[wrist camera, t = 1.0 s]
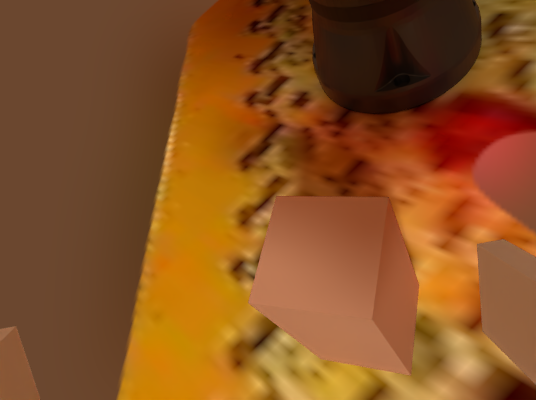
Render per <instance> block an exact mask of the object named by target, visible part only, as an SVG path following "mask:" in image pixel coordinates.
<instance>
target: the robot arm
mask: <svg viewBox="0 0 536 400" xmlns="http://www.w3.org/2000/svg"><path fill="white" fill-rule="evenodd" d="M309 2H310V4H311V7H312V20H313V33H314V45H313V64H314V69H315V72H316V74H317V77H318V79H319V82H320V84H321V86H322V88H323V90H324V92H325V93H326V94H327V96H328V97H329V98H330V99H332V100H333V101H334V102H336V103H337V104H339V105H341V106H343V107H345V108H348V109H350V110H354V111H358V112H364V113H389V112H396V111H401V110H406V109H409V108H413V107H416V106H419V105H421V104H424V103H426V102H428V101H431V100H433V99H434V98H436V97H438V96H440V95H442V94H443V93H445V92H446V91H448V90H449V89H450V88H452V87H453V86H454V85H456V84H457V83H458V82H459V81H460V80H461V79H462V78H463V77H464V76H465V75H466V74H467V73H468V71H469V70H470V69H471V67H472V66H473V64H474V63H475V61H476V59H477V57H478V54H479V51H480V47H481V40H482V39H481V15H480V11H479V7H478V5H477V3H476V1H475V0H309ZM477 252H478V268H479V283H480V299H481V314H482V330H483V332H484V333H485V334H486V335H487V336H488V337H489V338H490V339H491V340H492V341H493V342H494V343H495V344H496V345H497V346H498V347H499V348H500V349H501V350H502V351H503V352H504V353H505V354H506V355H507V356H508V357H509V358H510V359H511V360H512V361H513V362H514V363H515V364H516V365H517V366H518V367H519V368H520V369H521V370H522V371H523V372H524V373H525V374H526V375H527V376H528V377H529V378H530V379H531V380H532V381H533V382H534V383H535V384H536V257H535V256H533V255H531V254H529V253H527V252H526V251H524V250H522V249H520V248H518V247H517V246H515V245H513V244H511V243H509V242H508V241H506V240H504V239H503V240H497V241H491V242H486V243H480V244H477ZM0 400H41V399H40V396H39V393H38V390H37V387H36V384H35V382H34V378H33V376H32V373H31V370H30V367H29V364H28V361H27V358H26V355H25V352H24V349H23V346H22V343H21V340H20V337H19V334H18V331H17V328H16V326H14V327H9V328H3V329H0Z"/></svg>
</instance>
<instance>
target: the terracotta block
mask: <svg viewBox="0 0 536 400" xmlns="http://www.w3.org/2000/svg"><path fill="white" fill-rule="evenodd" d="M418 291H419V284H418V281H417V278H416V275H415V272H414V269H413V266H412V263H411V261H410V258H409V255H408V252H407V249H406V246H405V243H404V240H403V237H402V235H401V232H400V229H399V226H398V223H397V220H396V217H395V214H394V211H393V209H392V206H391V203H390V200H389V197H325V196H276V200H275V203H274V207H273V211H272V215H271V219H270V222H269V226H268V230H267V234H266V238H265V241H264V245H263V249H262V253H261V256H260V260H259V264H258V268H257V272H256V275H255V279H254V283H253V287H252V291H251V294H250V298H249V302H248V303H249V304H250V305H252V306H253V307H254V308H255V309H257V310H258V311H259V312H261V313H262V314H263V315H265V316H266V317H267V318H268V319H270V320H271V321H272V322H274V323H275V324H276V325H278V326H279V327H280V328H281V329H283V330H284V331H285V332H287V333H288V334H289V335H291V336H292V337H293V338H294V339H296V340H297V341H298V342H300V343H301V344H302V345H304V346H305V347H306V348H307V349H309V350H310V351H311V352H313V353H314V354H315V355H317V356H318V357H319V358H320V359H324V360H329V361H335V362H340V363H346V364H351V365H357V366H362V367H368V368H373V369H379V370H384V371H390V372H395V373H401V374H406V375H411V369H412V358H413V347H414V336H415V325H416V313H417V302H418Z"/></svg>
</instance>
